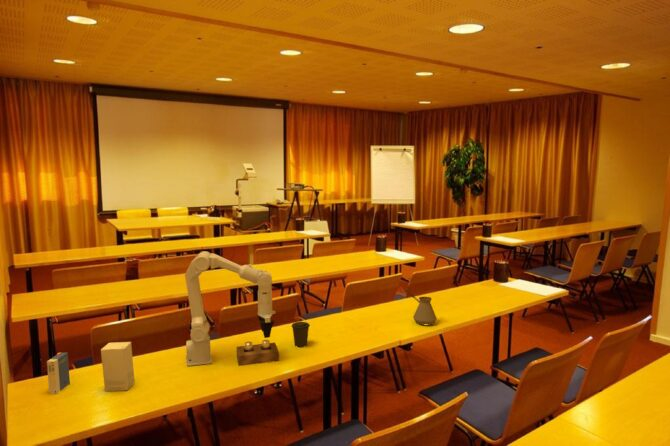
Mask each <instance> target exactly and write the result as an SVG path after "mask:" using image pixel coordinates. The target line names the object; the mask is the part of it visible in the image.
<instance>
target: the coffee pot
mask: <svg viewBox="0 0 670 446" xmlns="http://www.w3.org/2000/svg"><path fill="white" fill-rule="evenodd" d="M401 291H403V292H405V293H407V294H408V295H409V296H410V297H411V298H413V299H414V300H415V301H417V303H418V305H417V308H416V310H415V313H413V320H414V322H415V323H419V324H432V323H433V324H434V323H435V322H436V321H437V315H436V313H435V310H434V309H433V306H432V303H431V301H432V300H433V299H432V297H431V296H419V297H418V298H417V297H416V296H415V295H414V294H413V293H412V292H410V291H409V290H408V289H406V288H405V287H404V288H402V290H401ZM419 324H418V325H419ZM433 324H432V325H433Z"/></svg>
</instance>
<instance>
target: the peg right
mask: <svg viewBox="0 0 670 446" xmlns="http://www.w3.org/2000/svg"><path fill="white" fill-rule="evenodd" d="M270 343H271V341H270V340H269V339H263V340H262V341H261V344H262V350H270Z"/></svg>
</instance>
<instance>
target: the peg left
mask: <svg viewBox="0 0 670 446" xmlns="http://www.w3.org/2000/svg"><path fill="white" fill-rule="evenodd" d="M252 345H253V341H245V342H244V346H245V352H252Z"/></svg>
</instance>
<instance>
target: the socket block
mask: <svg viewBox="0 0 670 446" xmlns="http://www.w3.org/2000/svg"><path fill="white" fill-rule="evenodd" d="M236 360H237V364H238V367H239V366H247V365H249V366H250V365H255V364H256V365H257V363H258V364H266V363H272V362H273V361H274V362H279V361H280V351H279V348H278V346H277V344H276V342H270V350H262V343H260V344H259V343H257V344H252V352H245V345H240V346H239V345H238V346H236ZM265 362H266V363H265ZM274 362H273V363H274Z"/></svg>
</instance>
